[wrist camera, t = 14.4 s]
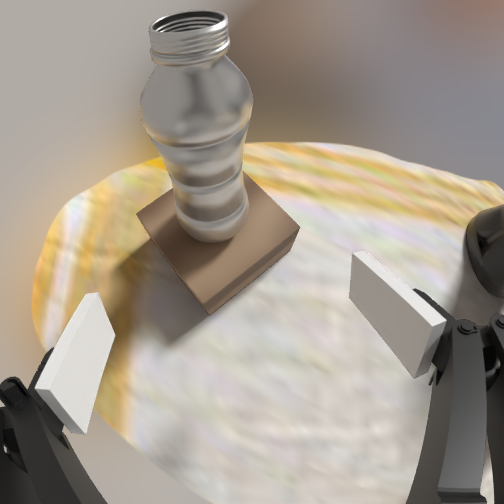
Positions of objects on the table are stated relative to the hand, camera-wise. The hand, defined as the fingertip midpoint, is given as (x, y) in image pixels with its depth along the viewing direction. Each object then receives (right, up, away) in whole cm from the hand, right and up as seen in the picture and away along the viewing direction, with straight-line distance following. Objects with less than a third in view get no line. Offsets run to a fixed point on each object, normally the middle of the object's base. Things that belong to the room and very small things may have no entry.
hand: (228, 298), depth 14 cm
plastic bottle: (-3, +5, +14) cm, 16 cm away
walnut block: (-3, +3, +20) cm, 20 cm away
